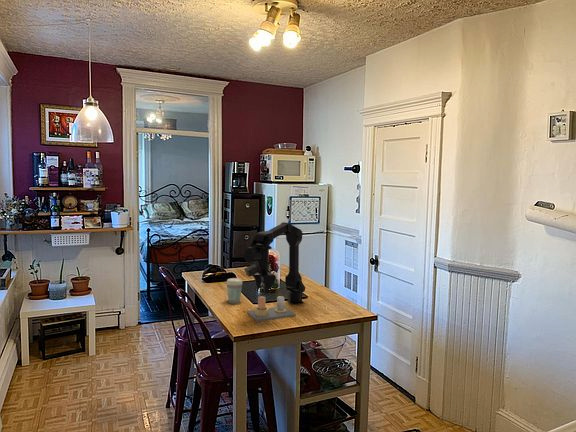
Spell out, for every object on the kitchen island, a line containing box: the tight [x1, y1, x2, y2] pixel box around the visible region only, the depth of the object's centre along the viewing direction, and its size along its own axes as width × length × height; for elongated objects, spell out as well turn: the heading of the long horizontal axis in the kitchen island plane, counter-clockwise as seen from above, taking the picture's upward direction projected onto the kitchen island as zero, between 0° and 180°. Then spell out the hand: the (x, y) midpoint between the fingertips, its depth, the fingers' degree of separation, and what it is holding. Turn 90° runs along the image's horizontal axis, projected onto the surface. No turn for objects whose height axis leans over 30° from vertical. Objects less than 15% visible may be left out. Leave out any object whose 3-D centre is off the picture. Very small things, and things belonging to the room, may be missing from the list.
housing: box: [246, 295, 297, 323], centre depth 209 cm, size 20×13×8 cm, turn 116°
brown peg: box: [257, 295, 266, 310], centre depth 206 cm, size 4×4×8 cm
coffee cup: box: [225, 277, 243, 305], centre depth 226 cm, size 8×9×12 cm
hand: (261, 291), depth 206 cm, fingers open, 9 cm apart
